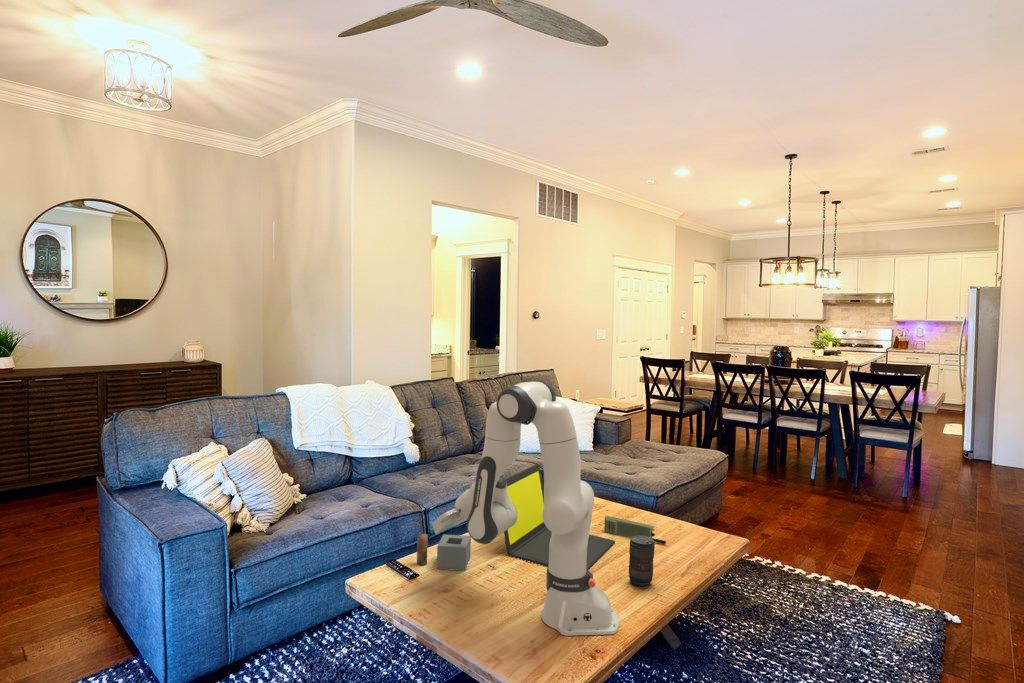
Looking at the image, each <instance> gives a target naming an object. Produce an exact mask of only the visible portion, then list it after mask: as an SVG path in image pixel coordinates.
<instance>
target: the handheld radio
mask: <svg viewBox="0 0 1024 683" xmlns="http://www.w3.org/2000/svg"><path fill="white" fill-rule="evenodd" d="M655 527H656V526H655V525H651V524H647V523H644V522H643V523H642V522H637V521H634V520H628V519H624V518H619V517H615V516H610V515H605V516H604V530H603V531H604V532H605V533H607V534H611V535H615V536H620V537H623V538H628V539H631V537H633V536H638V535H640V536H647V537H650V538H652V539H653V540H654V543H659V544H662V545H666V544H667V541H666V540H663V539H658V538H653V537H655V536H656V534H655Z"/></svg>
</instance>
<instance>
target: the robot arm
mask: <svg viewBox="0 0 1024 683" xmlns="http://www.w3.org/2000/svg"><path fill="white" fill-rule="evenodd" d="M488 408H489V409H488V412H487V416H486V422H485V430H484V433H485V435H484V445H483V448H482V449H483V450H482V455H481V458H480V461H479V464H478V468H477V471H476V478H475V481H474V482H473V483H472V484H471V485H470V488H467V489H466V490H464V492H463V493H461V494H460V496H458V497H457V499H456V500H455V502H454V505H455V508H452V509H450V510H447V511H446V512H444V513H443V514H441V515H440V516H439V517H438V518H436V519H435V520H434V521H433V522H432V524H431V525H432V527H433V532H434V534H435V535H439V534H441V533H442V532H444V531H446V530H448V529H451V528H453V527H454V526H455V527H456V526H458V525H460V524H462V523H463V522H465V521H466V529H467V532H468V536H471V540H473V541H474V542H475V543H478V544H481V545H488V544H490V543H491V542H493V541H494V540H495V539H496V538H497V537H499V536H500V535H501V534H504V532H505V531H506V530H507V529H509V528H510V527H512V526H513V525H514V524H515V523H516V520H517V511H516V508H515V506H514V504H513V503H512V502H511V500H510V498H509V496H508V492H507V482H506V480H505V479H506V478H504V476H502V475H503V473H504V472H505V471H506V470H508V468H509V467H510V466H511V465H512V464H513V463H514V462H515V461H516V459H517V458H518V456H519V452H520V448H521V432H522V425H525V426H529V425H530V424H531V423H532V424H533V425H534V427H535V428H536V432H537V436H538V442H539V443H538V444H539V449H540V455H541V460H542V466H543V490H544V508H543V515H542V516H543V521H544V524H545V525H546V527H547V528H548V529H549V530H550V531H551V532H552V535H551V539H550V543H549V567H546V573H545V588H546V594H545V599H544V605H543V608H542V610H541V613H540V614H541V615H540V617H541V619H542V621H543V622H544V623H545V624H546V625H547V626H549V627H550V628H552V629H555V630H557V631H558V633H559V634H561V635H562V636H571V637H572V636H594V635H595V636H597V635H598V636H601V635H615V634H616V633H617V632H618V631H619V628H620V620H619V615H618V613H617V611H616V610H615V608H613V607H612V604H611V601H610V599H609V596H608V595H607V594H606V592H604V590H602V589H600V588H599V587H598V586H597V585H596V580H595V579H594V574H593V572H592V571H591V569H589V570H586V566H587V546H588V538H589V534H590V532H591V531H590V530H591V526H592V519H593V518H592V516H593V509H594V508H593V507H594V502H595V492H594V490H593V488H592V486H591V485H590V484H589V483H588V482H586V481H584V480H583V479H581V472H582V471H581V470H582V459H581V453H580V447H579V440H578V436H577V430H576V426H575V423H574V419H573V417H572V414H571V412H570V409H569V407H568V405H567V404H565V403H564V402H561V401H557V395H556V391H555V389H554V387H553V386H552V385H551V384H550V383H548V382H546V381H544V380H533V381H524V382H519V383H517V384H514V385H509V386H508V387H506V388H504V389H503V390H502V391H501V392H500V393H499V394H498V396H497V398H496V401H495V402H493V403H492V404H491V405H490V407H488Z"/></svg>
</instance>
